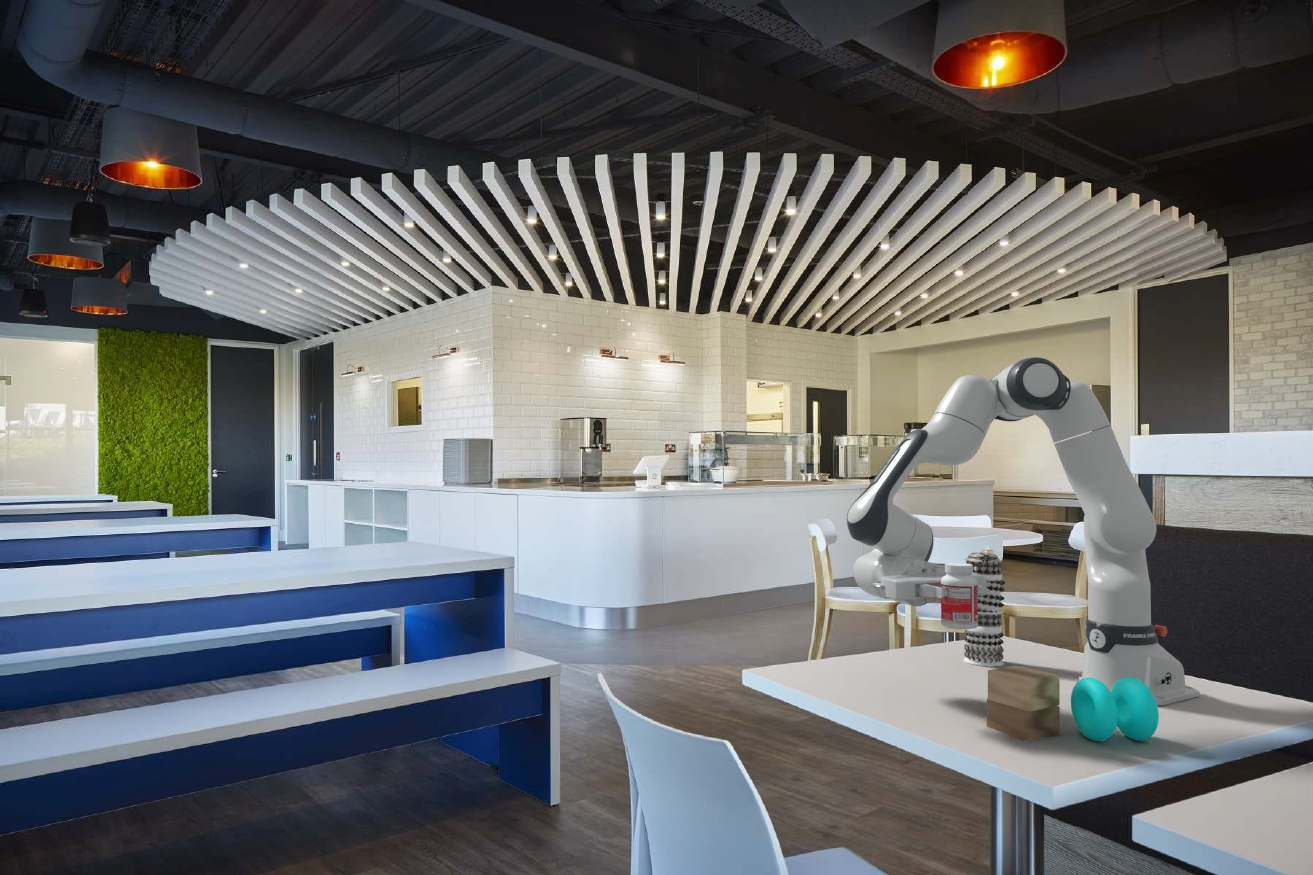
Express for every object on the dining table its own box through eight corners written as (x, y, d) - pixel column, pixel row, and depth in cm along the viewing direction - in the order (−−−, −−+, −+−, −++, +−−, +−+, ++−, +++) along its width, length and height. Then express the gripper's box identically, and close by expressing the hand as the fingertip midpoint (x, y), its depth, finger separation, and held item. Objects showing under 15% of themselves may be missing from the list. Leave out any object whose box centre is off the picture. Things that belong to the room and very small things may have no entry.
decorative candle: (984, 668, 185) (984, 556, 186) (953, 659, 194) (953, 552, 195) (1014, 665, 189) (1014, 554, 190) (982, 656, 198) (982, 551, 199)
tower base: (1022, 722, 146) (1022, 694, 146) (1059, 736, 139) (1059, 706, 139) (986, 727, 143) (986, 698, 143) (1023, 741, 136) (1023, 711, 136)
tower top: (1017, 693, 147) (1017, 665, 147) (1059, 705, 140) (1059, 675, 140) (987, 699, 143) (987, 670, 143) (1029, 711, 136) (1029, 680, 136)
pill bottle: (959, 622, 152) (958, 561, 152) (985, 628, 146) (985, 565, 147) (933, 625, 149) (933, 563, 149) (959, 631, 143) (959, 566, 144)
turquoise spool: (1163, 748, 133) (1162, 685, 133) (1103, 749, 132) (1102, 686, 132) (1123, 729, 142) (1122, 670, 143) (1067, 730, 142) (1066, 671, 142)
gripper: (867, 567, 156) (913, 576, 143) (955, 563, 163) (1007, 571, 150) (867, 601, 156) (914, 613, 143) (955, 596, 163) (1008, 607, 150)
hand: (962, 592), depth 147 cm, fingers closed on pill bottle, 6 cm apart
